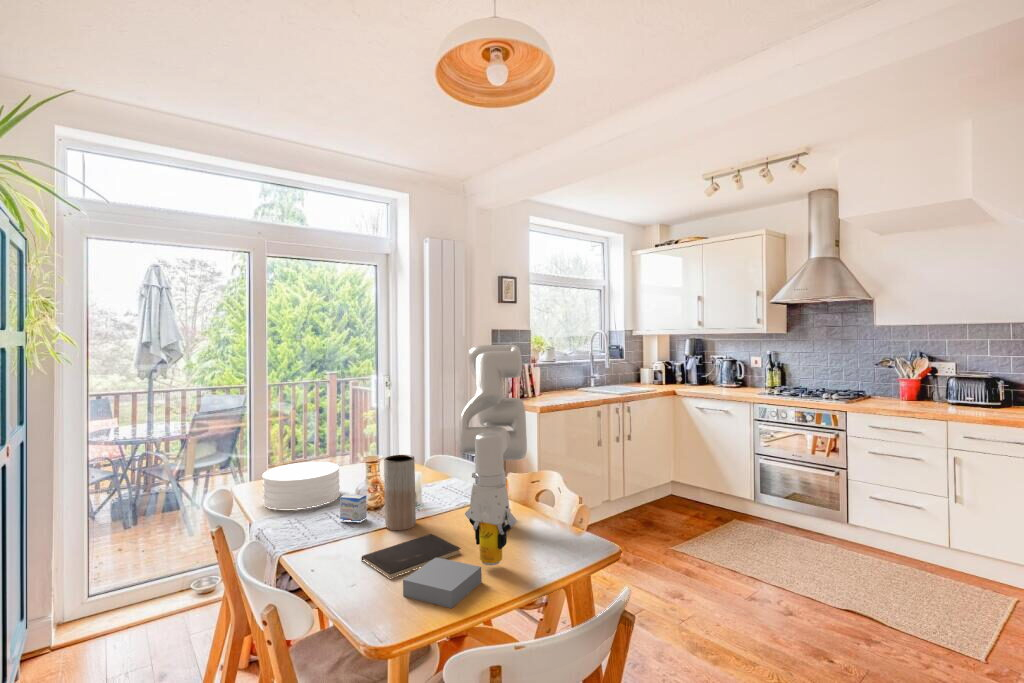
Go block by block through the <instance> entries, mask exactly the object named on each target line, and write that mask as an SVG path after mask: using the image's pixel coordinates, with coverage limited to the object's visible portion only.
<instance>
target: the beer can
mask: <svg viewBox="0 0 1024 683" xmlns="http://www.w3.org/2000/svg"><path fill="white" fill-rule="evenodd" d="M499 533H500V532H499V530H498V527H497V525H492V524H489V514H487V512H483V513H482V522H479V536H480V544H479V561H480V562H481V563H482V564H483V565H485V566H496V565H498V564H500V563H501V561H502V560H503V548H502V549H499V548H498V534H499Z"/></svg>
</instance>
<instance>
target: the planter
mask: <svg viewBox="0 0 1024 683" xmlns="http://www.w3.org/2000/svg"><path fill="white" fill-rule="evenodd" d="M415 461H416V460H415V456H414V455H411V454H396V455H389V456H386V457H384V458H383V477H384V478H383V479H384V480H383V481H384V482H383V484H384V517H385V518H384V520H385V521H384V523H385V525H384V526H385V528H386V527H387V528H388V530H389V529H390V530H389V531H395V530H399V531H405V530H409V529H411V528H414V526H416V523H417V520H416V519H417V516H416V514H417V512H416V510H417V509H416V474H415V472H416V468H415V467H416V466H415V464H416V463H415ZM387 528H386V529H387Z"/></svg>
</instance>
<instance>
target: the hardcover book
mask: <svg viewBox="0 0 1024 683" xmlns="http://www.w3.org/2000/svg"><path fill="white" fill-rule="evenodd" d="M461 549H462V548H461V547H459V546H458V545H455V544H453V543H452V542H449V541H447V540H445V539H443V538H441V537H439V536H437V535H435V534H432V533H429V534H426V535H423V536H420V537H416V538H413V539H409V540H406V541H404V542H401V543H398V544H394V545H391V546H388V547H385V548H382V549H379V550H376V551H373V552H370V553H366V554H364V555H362V556H361V561H362V560H365V561H366V562H368V563H369V564H370V565H372V566H373V567H375V568H376V569H378V570H379V571H381V572H382V573H384V574H385V575H387V576H388V577H389V578H392V577H395V576H397V575H399V574H402V573H405V572H408V571H411V570H413V569H416V568H419V567H422V566H424V565H425V564H427V563H428V562H430V561H431V560H433V559H434V558H436V557H437V558H442V559H445V558H446V559H448V557H449V558H451V557H450V556H452V557H454V556H453V555H455V556H457V555H460V550H461ZM456 554H457V555H456ZM416 570H417V569H416ZM411 572H412V571H411ZM408 573H409V572H408ZM385 575H384V576H385ZM388 577H387V578H388ZM397 577H398V576H397ZM389 578H388V579H389ZM395 578H396V577H395ZM392 579H393V578H392Z"/></svg>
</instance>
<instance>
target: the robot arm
mask: <svg viewBox="0 0 1024 683" xmlns="http://www.w3.org/2000/svg"><path fill="white" fill-rule="evenodd" d="M522 358H523V357H522V354H521V349H520V347H519V346H518V345H516V344H483V345H476V346H473V347H471V348H470V349H469V351H468V362H469V366H470V370H471V372H472V375H473V377H474V396H473V397H472V398H471V399H470V400H469V401H468V402H467V404H466V405H465V406H464V408H463V410H462V411H461V414H460V417H459V424H458V447H459V449H460V451H461V452H462V453H463V454H466V455H474V461H475V462H474V466H475V467H474V468H475V469H474V470H475V472H472V474H471V478H473V479H474V481H475V482H474V483H473V484H472V487H471V491H470V492H471V493H470V502H469V508H468V509H467V510H466V511H465V512H464V516H465V517H466V518H467V519H468V521H469V522H470V524H471V526H472V528H473V530H474V533H475V534H474V537H475V544H476V545H477V546H480V536H479V522H482V513H483V512H487V514H489V524H492V525H497V527H498V530H499V532H500V533H499V534H498V548H499V549H502V550H503V548H504V547H505V546H506V545H507V532H508V531H509V530H510V529H511V528H513V526H515V524H517V523H518V520H517V518H516V517H515V516H514V514H513V513H512V512H511V511H512V510H511V508H510V499H509V493H508V490H507V489H508V488H507V476H506V475H507V474H506V471H505V469H504V461H515V460H517V461H518V460H522V459H524V458H525V457H526V456H527V450H528V439H527V417H526V416H527V415H526V414H527V413H526V406H525V404H524V401H523V400H522V399H520V398H518V397H504V384H503V382H504V381H503V380H504V379H510V378H511V379H512V378H513V379H514V378H519V377H520V376H521V374H522V371H523V359H522ZM476 415H477V419H478V423H479V424H480V426H469V425H470V422H471V420H472V419H473V418H474V416H476ZM505 427H507V428H508V427H510V428H512V430H508V429H507V428H505Z"/></svg>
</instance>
